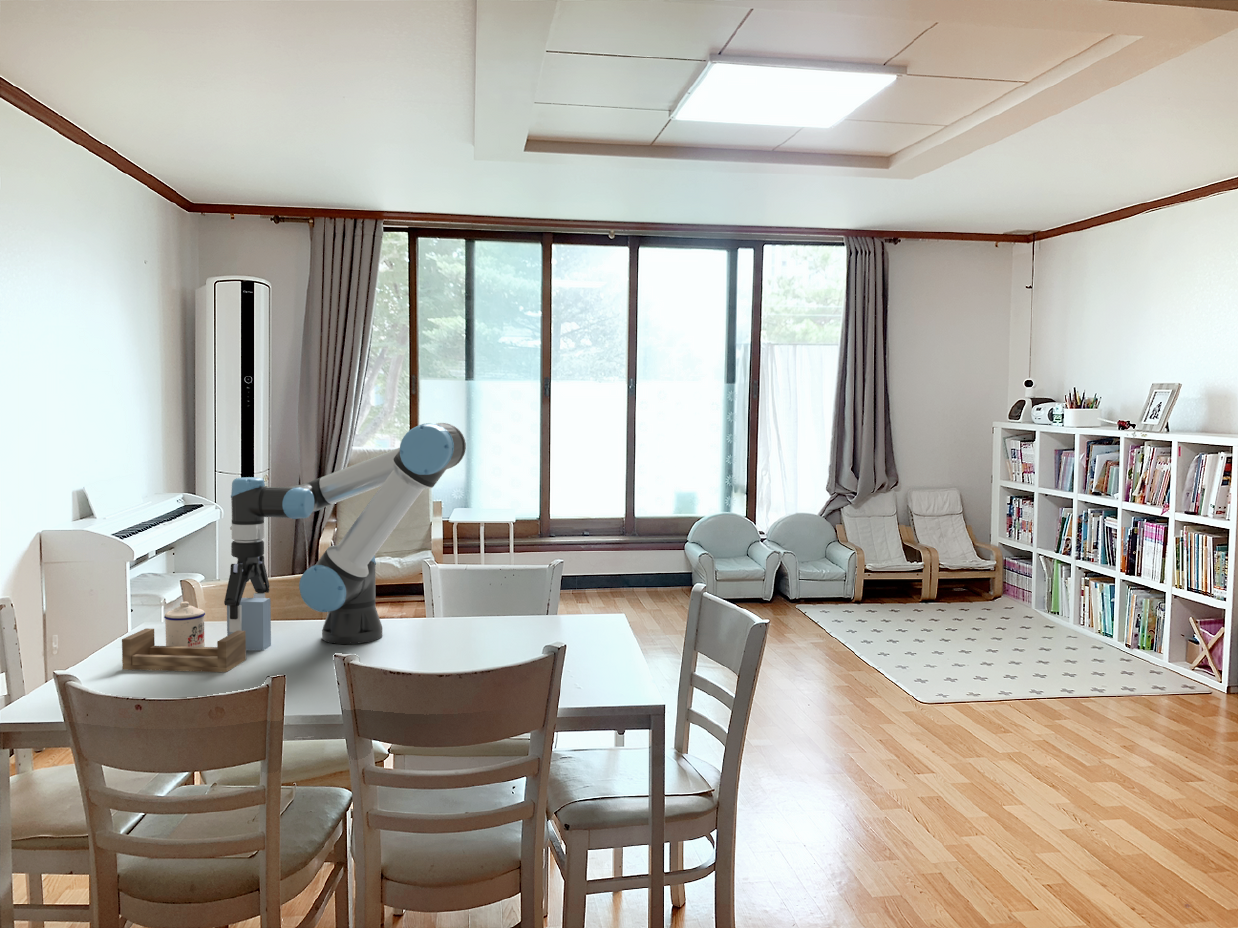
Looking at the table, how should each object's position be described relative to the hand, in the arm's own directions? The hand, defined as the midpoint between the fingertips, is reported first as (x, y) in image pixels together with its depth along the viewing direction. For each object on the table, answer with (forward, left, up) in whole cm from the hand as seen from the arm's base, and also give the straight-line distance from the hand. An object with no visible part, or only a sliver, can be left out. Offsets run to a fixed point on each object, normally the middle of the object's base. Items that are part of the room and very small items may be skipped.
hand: (247, 625), depth 232 cm
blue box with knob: (0, 0, -6) cm, 6 cm away
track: (+8, +16, -6) cm, 19 cm away
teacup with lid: (+14, +1, -6) cm, 16 cm away
